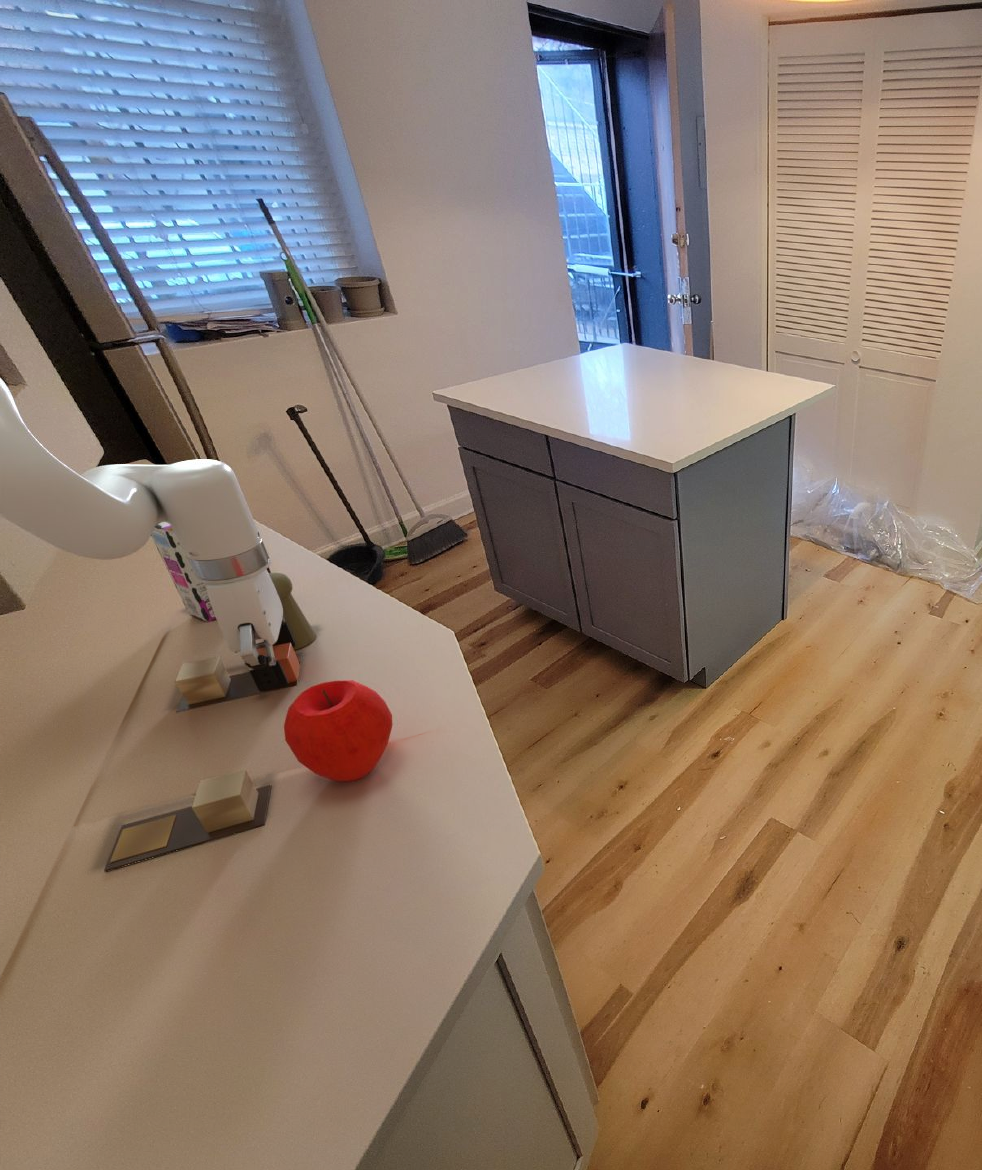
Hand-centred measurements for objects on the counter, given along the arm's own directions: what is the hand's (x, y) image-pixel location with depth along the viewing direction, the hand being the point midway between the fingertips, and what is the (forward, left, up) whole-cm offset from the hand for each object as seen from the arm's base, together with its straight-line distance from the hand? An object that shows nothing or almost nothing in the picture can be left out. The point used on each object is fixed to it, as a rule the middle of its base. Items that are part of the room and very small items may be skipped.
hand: (278, 667), depth 89 cm
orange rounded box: (0, 0, -2) cm, 2 cm away
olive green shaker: (0, +9, -2) cm, 9 cm away
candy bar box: (-9, +25, -2) cm, 27 cm away
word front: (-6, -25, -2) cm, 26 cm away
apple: (+9, -23, -2) cm, 25 cm away
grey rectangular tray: (-5, 0, -2) cm, 5 cm away
